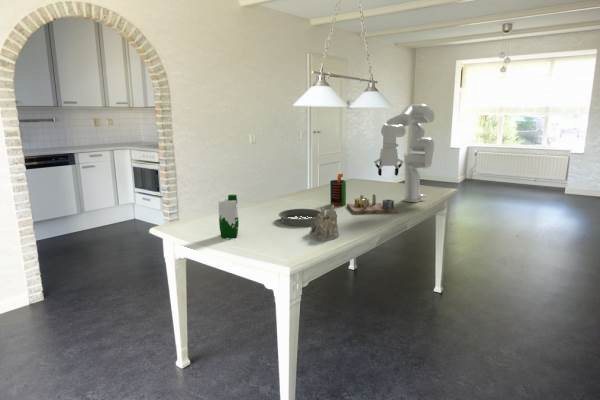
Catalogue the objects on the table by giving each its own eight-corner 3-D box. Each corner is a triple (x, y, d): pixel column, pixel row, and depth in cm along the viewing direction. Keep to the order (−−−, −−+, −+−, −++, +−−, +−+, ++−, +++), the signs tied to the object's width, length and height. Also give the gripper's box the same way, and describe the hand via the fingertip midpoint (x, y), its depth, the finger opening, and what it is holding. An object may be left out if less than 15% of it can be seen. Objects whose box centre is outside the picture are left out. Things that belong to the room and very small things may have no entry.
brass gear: (367, 203, 258) (367, 197, 257) (370, 206, 249) (370, 200, 248) (353, 204, 257) (353, 198, 256) (356, 207, 249) (356, 200, 248)
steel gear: (392, 206, 249) (392, 199, 248) (395, 209, 243) (395, 201, 242) (381, 206, 249) (381, 199, 248) (384, 209, 242) (384, 201, 241)
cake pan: (269, 221, 227) (269, 213, 227) (303, 214, 243) (303, 206, 242) (298, 229, 209) (298, 221, 208) (332, 221, 224) (332, 213, 223)
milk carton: (238, 238, 194) (236, 196, 190) (219, 239, 194) (216, 197, 190) (239, 233, 203) (238, 193, 199) (221, 233, 202) (219, 194, 198)
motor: (328, 205, 265) (328, 174, 261) (333, 202, 273) (334, 172, 269) (343, 206, 260) (343, 175, 256) (348, 204, 268) (348, 173, 264)
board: (387, 205, 261) (387, 192, 259) (397, 212, 242) (397, 198, 240) (346, 207, 259) (347, 193, 257) (353, 214, 239) (354, 200, 238)
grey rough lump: (319, 228, 208) (319, 200, 204) (345, 236, 198) (345, 206, 194) (298, 237, 198) (297, 207, 194) (325, 245, 187) (324, 214, 183)
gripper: (401, 145, 244) (400, 174, 247) (373, 146, 243) (372, 174, 246) (405, 146, 237) (404, 176, 240) (376, 146, 235) (375, 176, 238)
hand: (388, 175), depth 243 cm, fingers open, 9 cm apart
